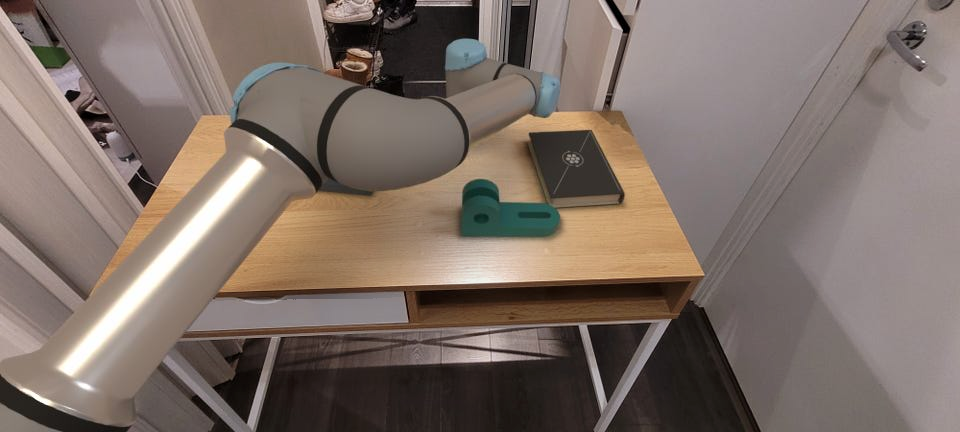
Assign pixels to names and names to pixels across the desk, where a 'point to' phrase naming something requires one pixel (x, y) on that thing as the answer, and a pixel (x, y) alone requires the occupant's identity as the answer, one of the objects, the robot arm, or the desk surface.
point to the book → (574, 169)
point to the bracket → (503, 214)
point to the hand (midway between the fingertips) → (296, 137)
